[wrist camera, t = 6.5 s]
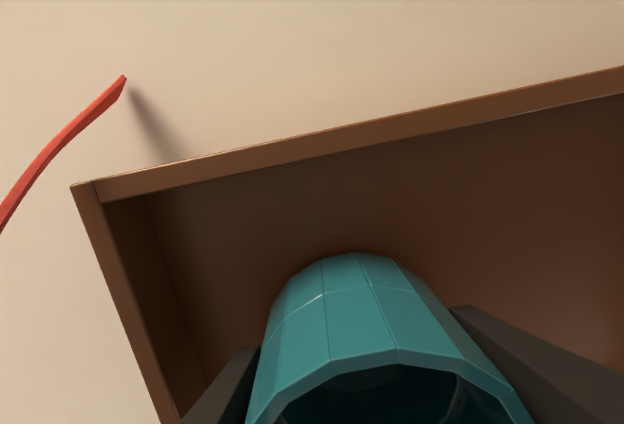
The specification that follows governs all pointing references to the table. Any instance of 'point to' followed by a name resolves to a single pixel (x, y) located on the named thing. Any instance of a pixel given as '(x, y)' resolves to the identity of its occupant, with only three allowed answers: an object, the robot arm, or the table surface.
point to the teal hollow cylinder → (372, 353)
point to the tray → (376, 226)
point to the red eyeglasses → (58, 148)
